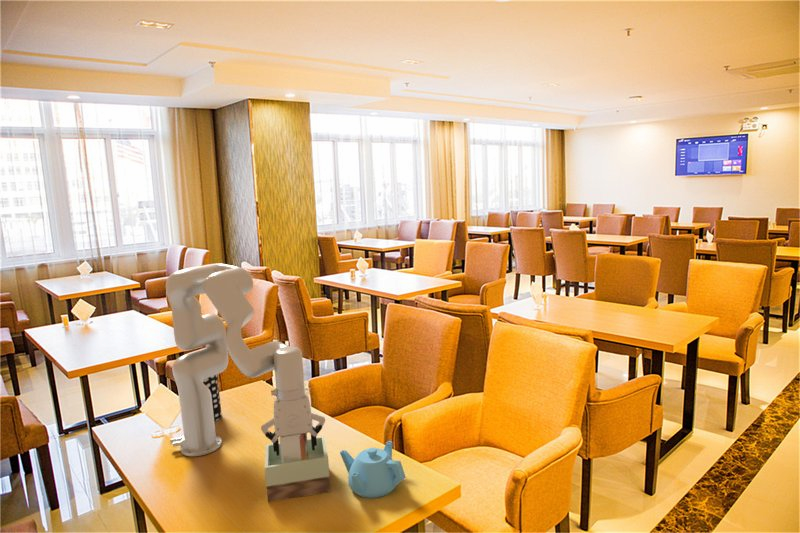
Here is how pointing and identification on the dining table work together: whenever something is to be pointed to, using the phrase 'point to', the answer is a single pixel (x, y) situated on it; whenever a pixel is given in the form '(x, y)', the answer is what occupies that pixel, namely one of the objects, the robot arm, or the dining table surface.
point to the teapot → (373, 471)
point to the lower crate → (298, 489)
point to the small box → (294, 448)
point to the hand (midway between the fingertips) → (295, 450)
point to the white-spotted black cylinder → (214, 395)
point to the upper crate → (296, 465)
